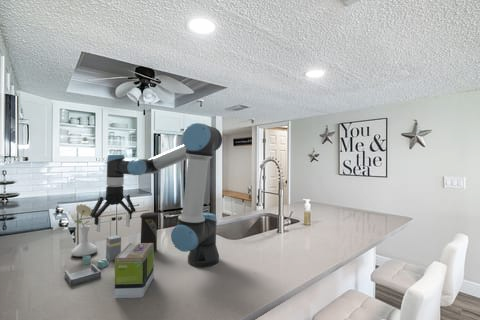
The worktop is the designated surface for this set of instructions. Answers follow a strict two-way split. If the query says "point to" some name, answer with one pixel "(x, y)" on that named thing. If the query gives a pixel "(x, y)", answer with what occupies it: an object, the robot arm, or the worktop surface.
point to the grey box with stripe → (113, 247)
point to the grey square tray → (83, 275)
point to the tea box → (134, 270)
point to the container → (149, 228)
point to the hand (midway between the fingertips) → (113, 228)
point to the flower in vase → (84, 234)
